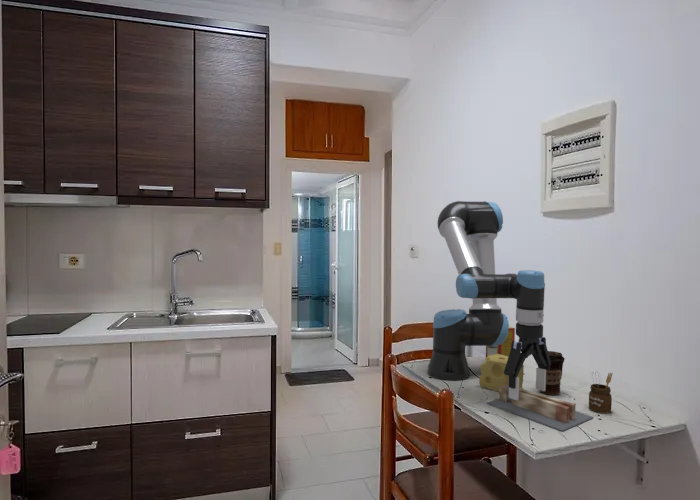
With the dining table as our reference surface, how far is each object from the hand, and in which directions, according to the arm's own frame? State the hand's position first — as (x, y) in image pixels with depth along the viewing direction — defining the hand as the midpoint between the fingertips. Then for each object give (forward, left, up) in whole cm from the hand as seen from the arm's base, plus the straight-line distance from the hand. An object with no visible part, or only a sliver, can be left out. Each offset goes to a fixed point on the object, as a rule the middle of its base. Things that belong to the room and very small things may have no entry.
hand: (527, 394), depth 136 cm
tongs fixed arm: (+2, -1, -4) cm, 4 cm away
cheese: (-16, +10, -4) cm, 19 cm away
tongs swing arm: (+5, +1, -4) cm, 6 cm away
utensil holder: (+13, +17, -4) cm, 22 cm away
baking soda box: (-33, +32, -4) cm, 46 cm away
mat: (+3, +1, -4) cm, 5 cm away
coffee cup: (-4, +19, -4) cm, 19 cm away
